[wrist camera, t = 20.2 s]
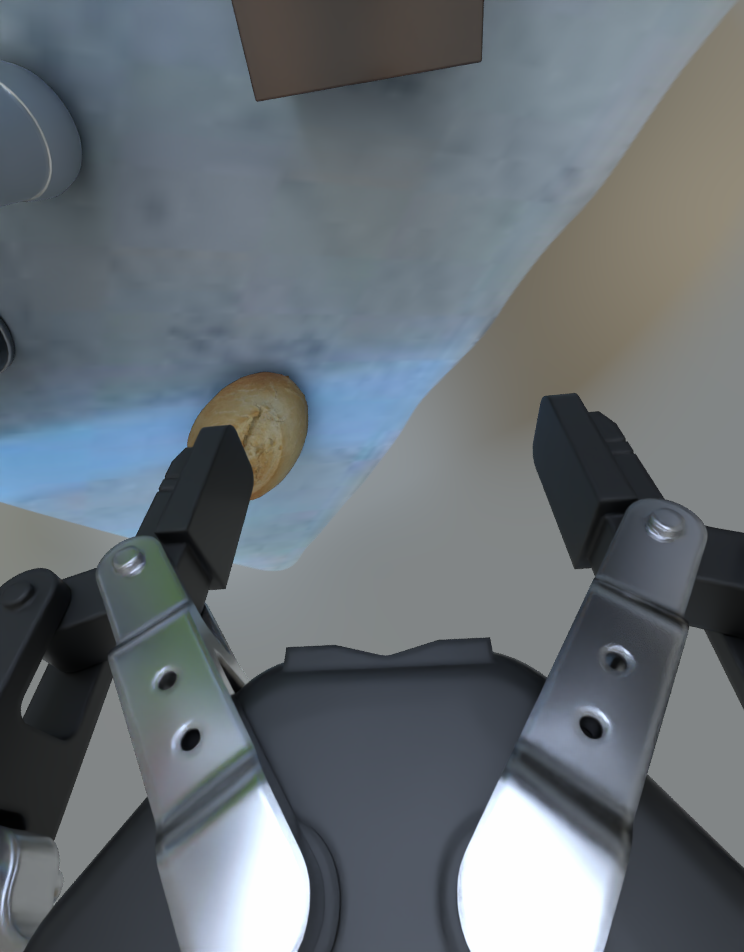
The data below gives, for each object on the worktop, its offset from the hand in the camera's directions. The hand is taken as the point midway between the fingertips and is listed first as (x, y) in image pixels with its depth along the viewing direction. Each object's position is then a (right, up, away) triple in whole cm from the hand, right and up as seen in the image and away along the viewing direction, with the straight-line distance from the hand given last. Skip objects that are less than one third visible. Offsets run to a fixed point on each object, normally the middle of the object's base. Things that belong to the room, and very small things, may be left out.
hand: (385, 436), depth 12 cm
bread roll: (-12, +5, +32) cm, 35 cm away
